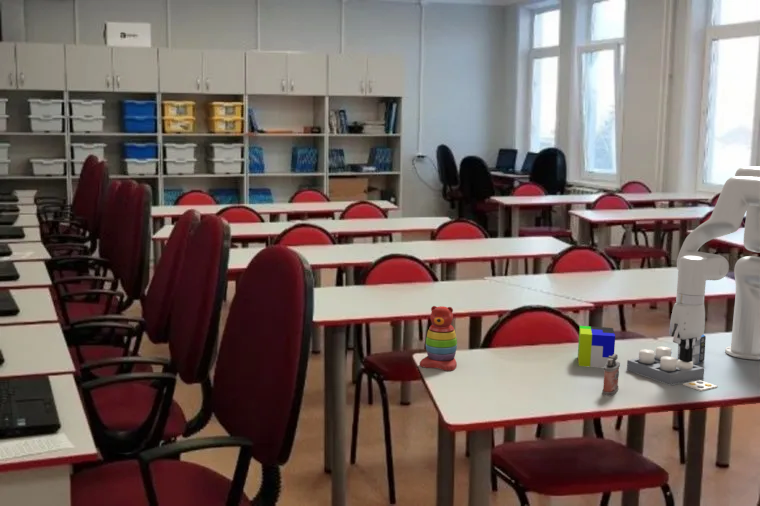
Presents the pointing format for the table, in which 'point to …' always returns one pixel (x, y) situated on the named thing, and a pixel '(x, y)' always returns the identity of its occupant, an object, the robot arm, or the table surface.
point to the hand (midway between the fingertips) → (685, 360)
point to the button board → (665, 372)
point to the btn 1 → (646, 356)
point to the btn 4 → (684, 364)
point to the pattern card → (700, 385)
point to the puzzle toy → (595, 345)
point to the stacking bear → (441, 340)
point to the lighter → (611, 376)
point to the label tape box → (697, 351)
